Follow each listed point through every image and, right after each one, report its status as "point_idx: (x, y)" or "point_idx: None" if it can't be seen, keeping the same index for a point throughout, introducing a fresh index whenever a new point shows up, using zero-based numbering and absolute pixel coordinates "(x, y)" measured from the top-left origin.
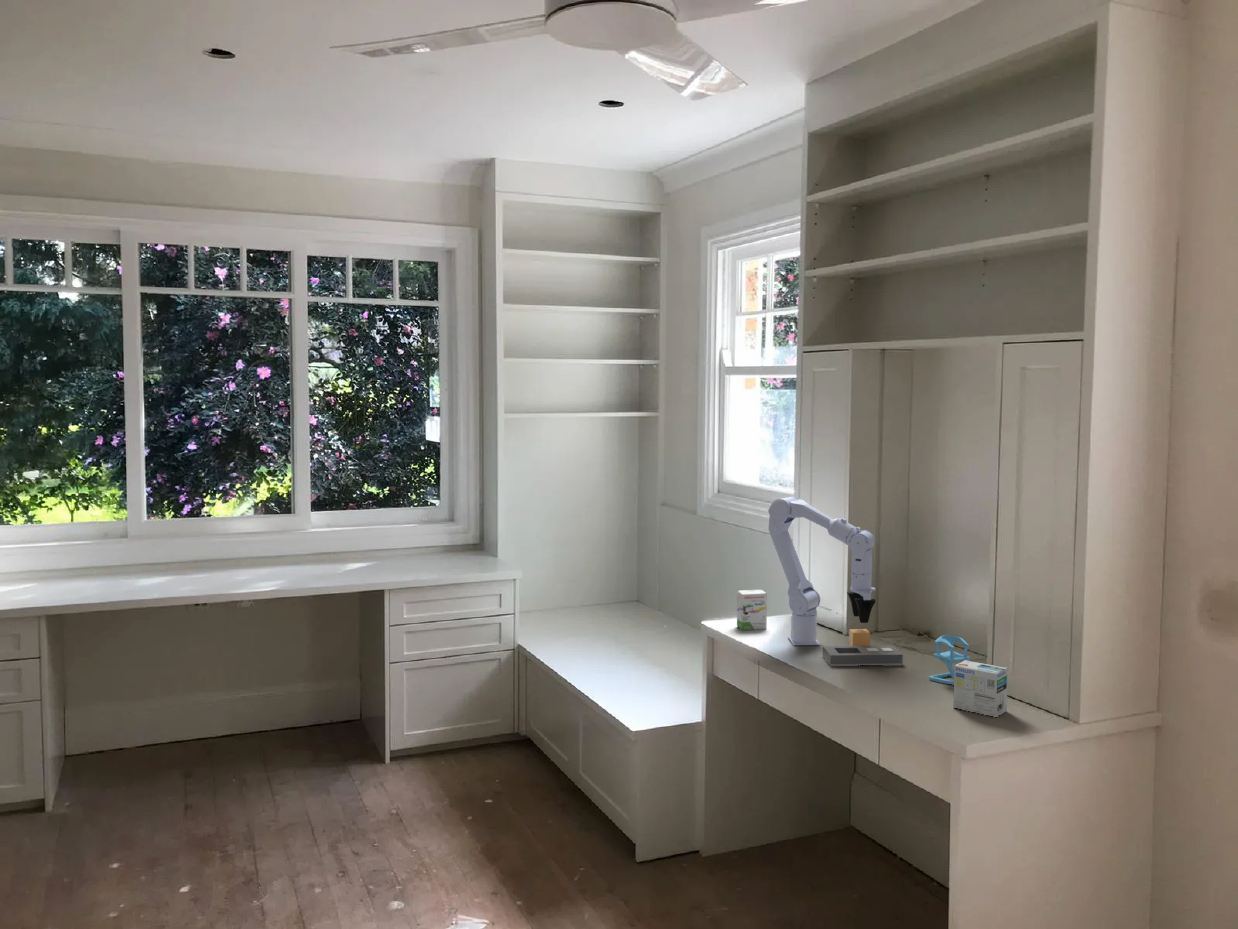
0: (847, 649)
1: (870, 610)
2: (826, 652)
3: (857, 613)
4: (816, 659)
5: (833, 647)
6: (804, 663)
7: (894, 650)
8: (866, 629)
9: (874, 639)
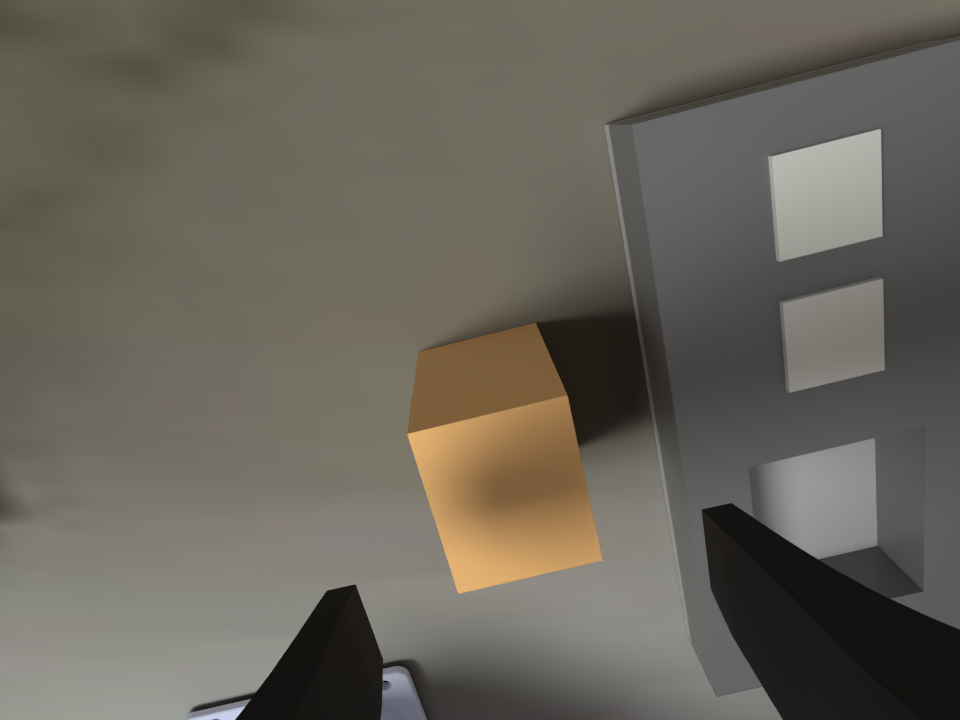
0: None
1: (905, 615)
2: None
3: (367, 661)
4: None
5: None
6: None
7: (842, 112)
8: (421, 433)
9: (35, 271)
